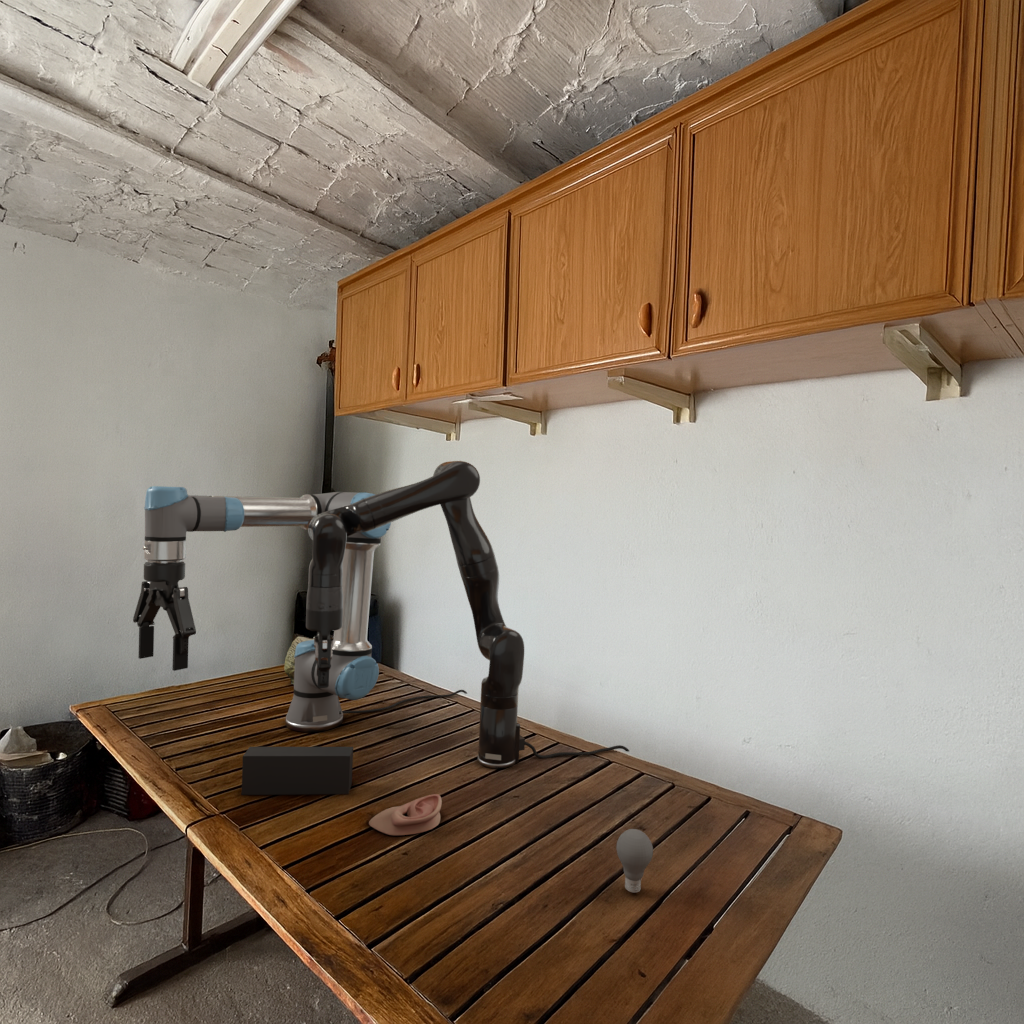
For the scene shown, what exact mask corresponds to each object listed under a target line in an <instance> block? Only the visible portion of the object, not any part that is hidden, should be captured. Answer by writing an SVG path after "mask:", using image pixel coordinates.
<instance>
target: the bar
mask: <svg viewBox="0 0 1024 1024" xmlns="http://www.w3.org/2000/svg"><path fill="white" fill-rule="evenodd" d="M353 763H354V746H249V747H248V749H247V750H246V752H244V754H243V755H242V767H241V769H242V771H241V794H240V795H241V796H277V795H278V796H282V795H283V796H285V795H286V796H287V795H288V796H289V795H291V796H293V795H294V796H295V795H297V796H298V795H301V796H303V795H349V794H350V791H351V787H352V784H353Z"/></svg>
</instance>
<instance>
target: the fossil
mask: <svg viewBox="0 0 1024 1024" xmlns="http://www.w3.org/2000/svg"><path fill="white" fill-rule="evenodd" d="M308 640H314V638H308V637H304V636H297V637H296V638H295V639H294V640H293V641H292V642H291V645H290V646H289V648H288V649H287V652H286V656H285V659H284V667H283V669H284V673H285V674H286V676H287V677H288V678H289V679H290V683H291V685H294V669H295V658H294V656H295V650H296V646H297V645H298V644H299V643H301V642H304V641H308Z"/></svg>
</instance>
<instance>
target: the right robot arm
mask: <svg viewBox="0 0 1024 1024" xmlns="http://www.w3.org/2000/svg"><path fill="white" fill-rule="evenodd" d="M480 485H481V476H480V473H479V471H478V469H477V468H476V467H475V465H473V464H471V463H470V462H467V461H465V460H464V461H463V460H449V461H445V462H442V463H440V464H439V465H438V466H436V468H435V470H434V471H433V475H432V476H430V477H428V478H425V479H423V480H421V481H418V482H415V483H412V484H408V485H404V486H400V487H396V488H392V489H389V490H385V491H382V492H378V493H376V495H373V496H370V497H368V498H365V499H362V500H360V501H357V502H355V503H353V504H351V505H348V506H344V507H340V508H336V509H333V510H329V511H326V512H323V513H321V514H318V515H316V516H315V517H314V518H313V519H312V520H311V521H310V523H309V526H308V530H307V533H308V537H310V539H311V540H312V559H311V560H310V563H309V567H308V585H307V591H306V592H307V593H306V609H305V615H306V616H305V628H306V629H307V630H308V631H311V632H316V635H314V636H313V639H314V647H315V659H316V660H317V676H318V688H327V687H328V686H329V670H330V668H331V665H330V663H331V659H332V647H333V644H334V635H331V632H332V631H333V632H334V631H335V630H338V629H340V628H341V627H342V619H343V589H342V583H343V559H344V554H345V548H346V541H347V537H348V536H350V535H353V534H355V533H359V532H367V531H370V530H373V529H376V528H378V527H381V526H383V525H386V524H388V523H391V524H392V523H394V522H395V521H398V520H401V519H403V518H406V517H408V516H410V515H413V514H415V513H417V512H420V511H424V510H426V509H429V508H432V507H435V506H439V505H440V508H441V510H442V512H443V516H444V518H445V520H446V524H447V527H448V528H447V529H448V532H449V536H450V540H451V544H452V548H453V551H454V555H455V560H456V563H457V567H458V570H459V574H460V578H461V581H462V583H463V587H464V591H465V594H466V597H467V601H468V604H469V607H470V611H471V614H472V619H473V623H474V625H473V626H474V630H475V636H476V642H477V647H478V650H479V652H480V653H481V655H482V656H483V657H484V658H485V659H486V660H487V661H489V666H488V675H487V676H485V677H484V678H483V679H482V680H481V684H480V707H479V710H480V711H479V726H478V727H479V728H478V729H479V730H478V750H477V762H478V764H479V765H481V766H483V767H485V768H489V769H506V768H510V767H512V766H514V765H515V764H518V763H519V762H520V751H521V752H522V751H525V748H526V747H525V746H527V747H528V748H529V749H531V751H532V753H533V755H534V757H535V758H538V759H551V758H556V757H561V756H562V757H563V756H566V757H567V756H570V757H574V756H575V757H578V756H579V757H582V756H592V755H595V754H600V753H605V752H610V751H615V750H617V749H618V750H619V749H621V750H623V751H625V752H626V753H627V752H630V750H629V748H628V747H626V746H625V745H621V744H619V745H614V746H609V747H603V748H599V749H595V750H591V751H581V752H577V751H576V752H573V751H571V752H570V751H567V752H565V751H563V752H554V753H550V754H547V755H545V754H544V755H543V754H542V755H541V754H539V753H538V752H537V749H536V748H535V746H534V745H532V744H531V743H530V742H527V741H526V738H525V737H524V736H522V734H521V724H520V722H518V714H519V713H518V712H519V709H518V708H519V689H520V686H521V684H522V680H523V673H524V663H525V641H524V638H523V637H522V635H521V634H520V633H519V632H518V631H516V630H515V629H512V628H510V627H508V626H507V625H506V622H505V621H504V618H503V615H502V611H501V608H500V603H499V591H500V590H499V589H500V570H499V566H498V562H497V558H496V554H495V552H494V551H495V550H494V548H493V545H492V544H491V541H490V539H489V538H488V535H487V534H486V532H485V530H484V529H483V527H482V525H481V524H480V522H479V520H478V518H477V516H476V514H475V511H474V508H473V503H472V499H471V497H473V496H474V495H475V494H476V493H477V492H478V490H479V487H480Z"/></svg>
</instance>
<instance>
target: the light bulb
mask: <svg viewBox="0 0 1024 1024" xmlns="http://www.w3.org/2000/svg"><path fill="white" fill-rule="evenodd" d="M615 849H616V854H617V857H618V859H619V861H620V863H621V865H622V867H623V873H624V874H623V875H624V876H625V878H624V888H625V890H627V891H628V892H630V893H634V894H635V893H639V892H640V891H641V889H642V887H641V886H642V879H643V877H644V875H645V871H646V868H647V867H648V866H649V864H650V863H651V861H652V859H653V855H654V847H653V843H652V841H651V838H649V836H648V835H647V834H646V833H645V832H643V831H642V830H641V829H636V828H629V829H627V830H625V831H623V832H622V833H621V834H620V835H619V837H618V839H617V841H616V847H615Z"/></svg>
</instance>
